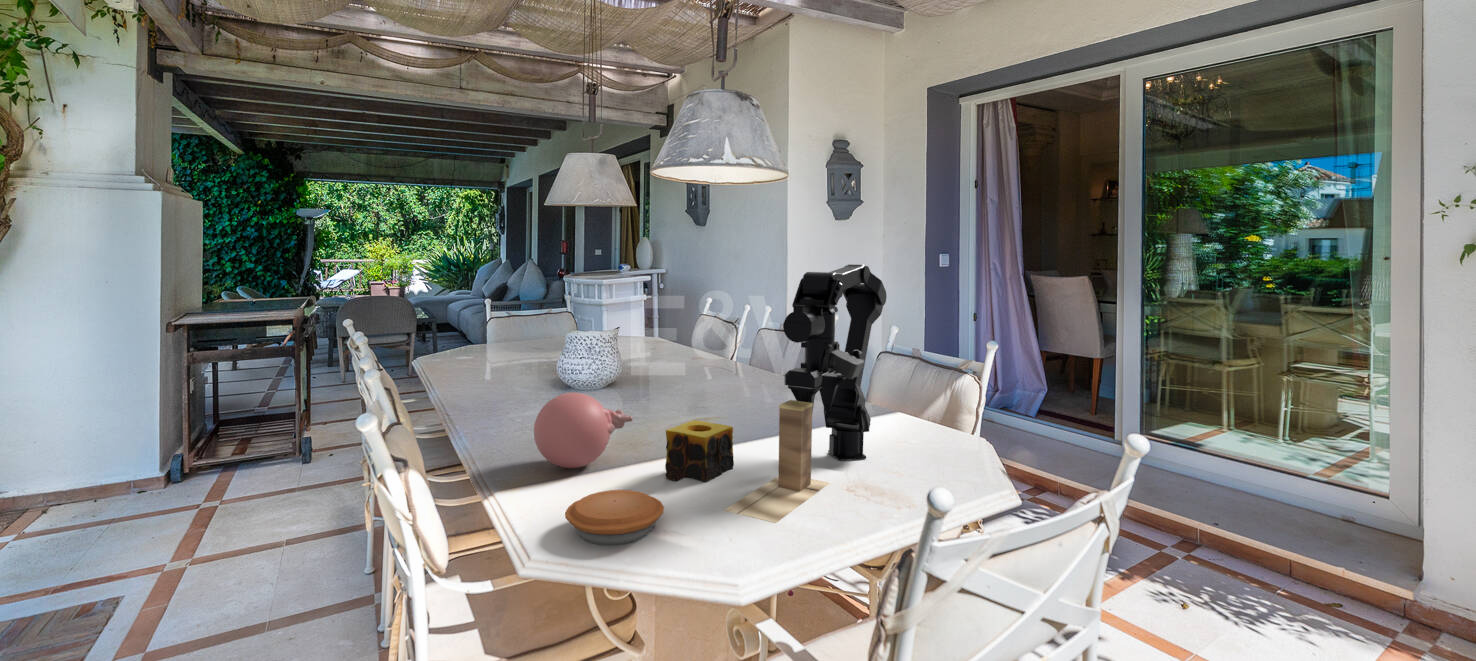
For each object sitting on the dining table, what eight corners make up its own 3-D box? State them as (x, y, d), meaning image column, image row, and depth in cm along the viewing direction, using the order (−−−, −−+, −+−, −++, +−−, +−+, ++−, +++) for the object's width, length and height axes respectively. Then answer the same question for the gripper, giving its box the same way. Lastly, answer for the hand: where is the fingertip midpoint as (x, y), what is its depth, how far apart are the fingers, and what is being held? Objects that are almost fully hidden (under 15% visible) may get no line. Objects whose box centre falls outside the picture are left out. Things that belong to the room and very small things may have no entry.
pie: (601, 506, 118) (601, 479, 117) (680, 520, 112) (680, 491, 112) (545, 541, 104) (544, 510, 103) (631, 559, 98) (631, 527, 97)
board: (782, 479, 132) (783, 473, 132) (830, 488, 127) (830, 482, 127) (723, 516, 113) (723, 510, 113) (775, 529, 108) (776, 522, 108)
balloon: (635, 475, 134) (634, 399, 132) (530, 480, 130) (528, 403, 128) (632, 452, 149) (631, 384, 147) (538, 456, 145) (536, 387, 143)
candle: (706, 489, 127) (706, 438, 125) (663, 479, 132) (663, 430, 131) (734, 474, 135) (735, 426, 134) (694, 465, 140) (694, 419, 139)
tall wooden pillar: (789, 479, 128) (790, 399, 126) (811, 484, 126) (812, 402, 124) (777, 487, 124) (779, 404, 123) (800, 491, 122) (801, 407, 120)
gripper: (840, 345, 118) (837, 432, 120) (876, 334, 134) (873, 411, 136) (783, 340, 124) (782, 423, 126) (824, 331, 140) (822, 404, 142)
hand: (818, 415), depth 132 cm, fingers open, 9 cm apart
